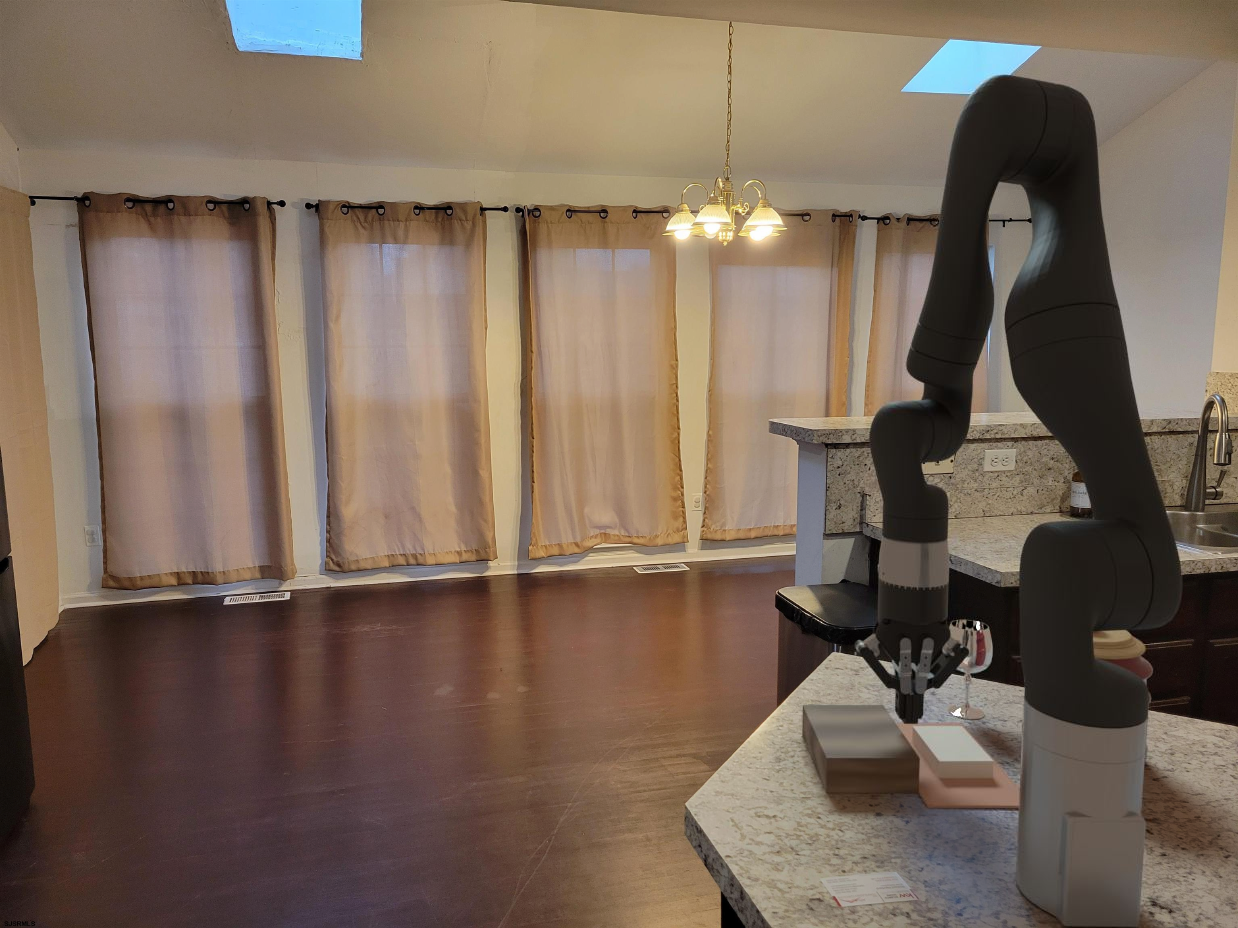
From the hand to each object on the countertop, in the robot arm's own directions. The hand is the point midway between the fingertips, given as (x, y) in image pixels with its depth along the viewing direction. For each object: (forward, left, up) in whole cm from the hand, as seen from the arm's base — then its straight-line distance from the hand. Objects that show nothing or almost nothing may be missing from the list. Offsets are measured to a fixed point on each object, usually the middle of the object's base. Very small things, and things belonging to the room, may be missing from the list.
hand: (908, 720), depth 96 cm
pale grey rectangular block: (0, -5, -3) cm, 6 cm away
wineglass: (+14, -12, -5) cm, 19 cm away
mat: (0, -5, -5) cm, 7 cm away
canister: (+2, -21, -5) cm, 22 cm away
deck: (0, +6, -5) cm, 8 cm away
